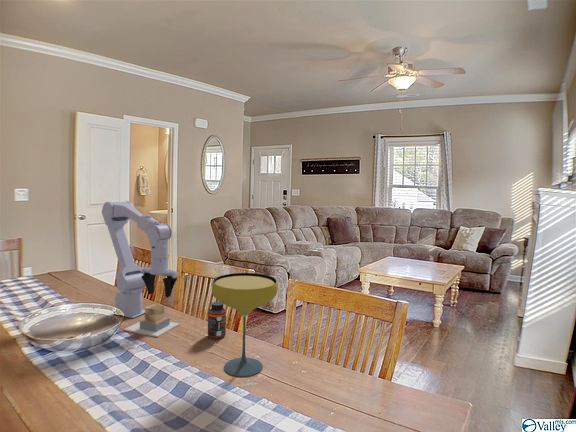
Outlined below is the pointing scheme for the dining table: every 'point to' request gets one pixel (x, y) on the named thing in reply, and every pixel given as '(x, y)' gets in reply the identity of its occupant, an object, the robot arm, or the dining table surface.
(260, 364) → the cocktail glass
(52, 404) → the dining table surface
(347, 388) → the dining table surface
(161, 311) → the maple block
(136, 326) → the base
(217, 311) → the supplement bottle
